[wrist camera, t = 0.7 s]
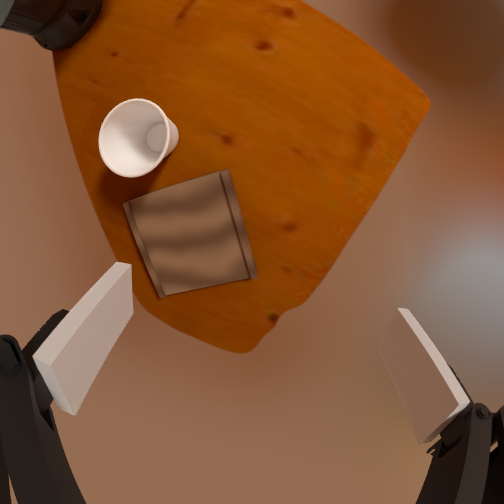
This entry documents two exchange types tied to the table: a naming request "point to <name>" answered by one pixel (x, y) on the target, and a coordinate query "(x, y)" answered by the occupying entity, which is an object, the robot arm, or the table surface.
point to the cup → (136, 138)
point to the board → (192, 234)
